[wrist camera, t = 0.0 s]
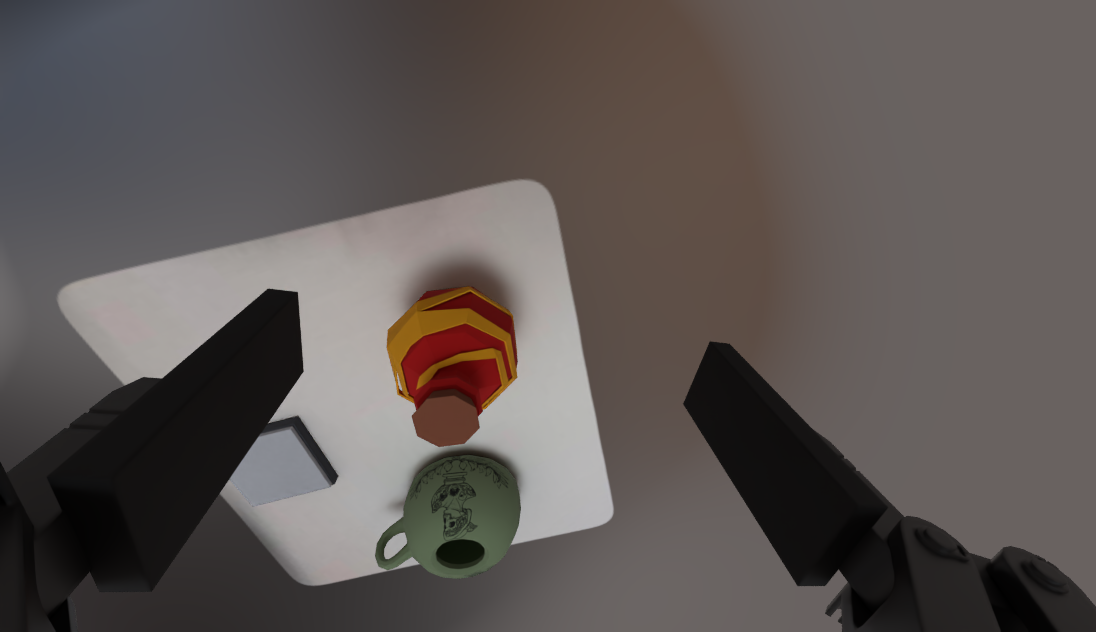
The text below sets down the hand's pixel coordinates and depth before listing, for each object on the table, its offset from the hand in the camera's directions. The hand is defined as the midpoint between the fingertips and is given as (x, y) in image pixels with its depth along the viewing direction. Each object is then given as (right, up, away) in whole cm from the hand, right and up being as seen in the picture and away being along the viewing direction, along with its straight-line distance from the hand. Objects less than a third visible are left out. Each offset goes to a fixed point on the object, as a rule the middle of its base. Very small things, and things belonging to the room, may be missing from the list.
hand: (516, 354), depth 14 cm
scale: (-28, -14, +30) cm, 43 cm away
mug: (-10, -19, +36) cm, 42 cm away
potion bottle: (-7, +2, +25) cm, 26 cm away
